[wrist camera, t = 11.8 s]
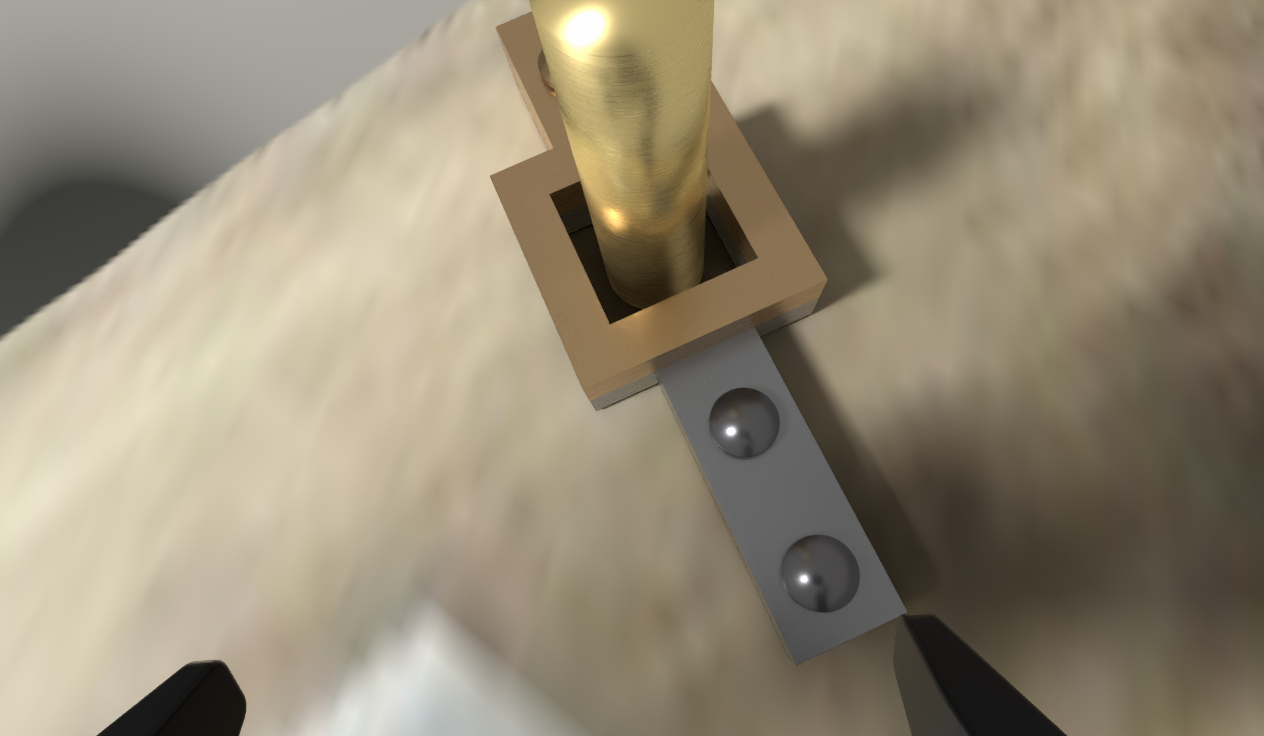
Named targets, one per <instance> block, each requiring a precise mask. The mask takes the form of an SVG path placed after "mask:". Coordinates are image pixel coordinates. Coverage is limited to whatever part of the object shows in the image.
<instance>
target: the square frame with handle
mask: <svg viewBox="0 0 1264 736" xmlns="http://www.w3.org/2000/svg"><path fill="white" fill-rule="evenodd" d="M496 30H497V33H498V35H499V38H500V41H501V44H502V46H503V49H504V52H505V55H506V57H507V60H508V63H509V66H510V68H511V71H512V74H513V77H514V79H515V82H516V84H517V86H518V88H519V91H520V93H521V95H522V97H523V99H524V101H525V103H526V105H527V107H528V110H529V112H530V114H531V116H532V118H533V120H534V122H535V124H536V126H537V128H538V131H539V133H540V135H541V137H542V139H543V141H544V143H545V145H546V147H547V149H548V151H546V152H544V153H541V154H539V155H537V156H534V157H532V158H530V159H527V160H525V161H523V162H521V163H518V164H516V165H514V166H511V167H509V168H507V169H504V170H502V171H500V172H498V173H495V174H493V175H491V176H490V178H491V180H492V182H493V185H494V187H495V189H496V192H497V194H498V196H499V198H500V201H501V203H502V205H503V208H504V210H505V212H506V214H507V217H508V219H509V221H510V224H511V226H512V228H513V230H514V233H515V235H516V237H517V240H518V242H519V244H520V246H521V249H522V251H523V253H524V256H525V258H526V260H527V262H528V265H529V267H530V269H531V272H532V274H533V276H534V278H535V281H536V283H537V285H538V288H539V290H540V292H541V294H542V297H543V299H544V301H545V304H546V306H547V308H548V310H549V313H550V315H551V317H552V320H553V322H554V324H555V327H556V329H557V331H558V333H559V336H560V338H561V340H562V343H563V345H564V347H565V349H566V352H567V354H568V356H569V359H570V361H571V363H572V365H573V368H574V370H575V372H576V375H577V377H578V379H579V381H580V384H581V386H582V388H583V390H584V392H585V394H586V395H587V397H588V398H589V400H590V402H591V403H592V405H593V407H594V408H595V410H596V411H598V410H600V409H602V408H604V407H606V406H609V405H611V404H613V403H615V402H617V401H620V400H622V399H624V398H626V397H628V396H631V395H633V394H635V393H637V392H639V391H642V390H644V389H646V388H648V387H651V386H653V385H655V384H657V383H659V385H660V387H661V389H662V392H663V394H664V396H665V398H666V400H667V402H668V404H669V406H670V408H671V410H672V413H673V415H674V417H675V419H676V421H677V423H678V425H679V427H680V429H681V432H682V434H683V436H684V438H685V440H686V442H687V444H688V446H689V448H690V450H691V453H692V455H693V457H694V459H695V461H696V463H697V465H698V467H699V469H700V471H701V474H702V476H703V478H704V480H705V482H706V484H707V486H708V488H709V490H710V493H711V495H712V497H713V499H714V501H715V503H716V505H717V507H718V509H719V511H720V514H721V516H722V518H723V520H724V522H725V524H726V526H727V528H728V530H729V533H730V535H731V537H732V539H733V541H734V543H735V545H736V547H737V549H738V551H739V554H740V556H741V558H742V560H743V562H744V564H745V566H746V568H747V570H748V573H749V575H750V577H751V579H752V581H753V583H754V585H755V587H756V589H757V591H758V594H759V596H760V598H761V600H762V602H763V604H764V606H765V608H766V610H767V613H768V615H769V617H770V619H771V621H772V623H773V625H774V627H775V629H776V631H777V634H778V636H779V638H780V640H781V642H782V644H783V646H784V648H785V650H786V652H787V655H788V657H789V659H790V660H791V661H792V662H794V663H795V664H796V665H798V664H800V663H802V662H804V661H806V660H809V659H811V658H813V657H815V656H817V655H819V654H821V653H823V652H825V651H827V650H830V649H832V648H834V647H836V646H838V645H840V644H842V643H844V642H846V641H849V640H851V639H853V638H855V637H857V636H859V635H861V634H863V633H865V632H867V631H870V630H872V629H874V628H876V627H878V626H880V625H882V624H884V623H886V622H889V621H891V620H893V619H895V618H897V617H899V616H900V615H902V614H905V613H907V610H906V608H905V606H904V604H903V603H902V601H901V599H900V597H899V595H898V593H897V591H896V590H895V588H894V586H893V584H892V582H891V580H890V578H889V577H888V575H887V573H886V571H885V569H884V567H883V565H882V563H881V562H880V560H879V558H878V556H877V554H876V552H875V550H874V549H873V547H872V545H871V543H870V541H869V539H868V537H867V536H866V534H865V532H864V530H863V528H862V526H861V524H860V522H859V521H858V519H857V517H856V515H855V513H854V511H853V509H852V508H851V506H850V504H849V502H848V500H847V498H846V496H845V495H844V493H843V491H842V489H841V487H840V485H839V483H838V481H837V480H836V478H835V476H834V474H833V472H832V470H831V468H830V467H829V465H828V463H827V461H826V459H825V457H824V455H823V454H822V452H821V450H820V448H819V446H818V444H817V442H816V440H815V439H814V437H813V435H812V433H811V431H810V429H809V427H808V426H807V424H806V422H805V420H804V418H803V416H802V414H801V413H800V411H799V409H798V407H797V405H796V403H795V401H794V399H793V398H792V396H791V394H790V392H789V390H788V388H787V386H786V385H785V383H784V381H783V379H782V377H781V375H780V373H779V372H778V370H777V368H776V366H775V364H774V362H773V360H772V358H771V357H770V355H769V353H768V351H767V349H766V347H765V345H764V344H763V342H762V340H761V338H760V337H761V336H763V335H765V334H768V333H770V332H772V331H774V330H776V329H779V328H781V327H783V326H785V325H787V324H790V323H792V322H794V321H796V320H799V319H801V318H803V317H805V316H807V315H810V314H812V312H813V310H814V308H815V306H816V303H817V301H818V299H819V297H820V295H821V293H822V291H823V288H824V286H825V284H826V282H827V280H828V279H827V277H826V275H825V274H824V272H823V270H822V269H821V267H820V265H819V264H818V262H817V260H816V258H815V257H814V255H813V253H812V252H811V250H810V248H809V247H808V245H807V243H806V241H805V240H804V238H803V236H802V235H801V233H800V231H799V229H798V228H797V226H796V224H795V223H794V221H793V219H792V218H791V216H790V214H789V212H788V211H787V209H786V207H785V206H784V204H783V202H782V201H781V199H780V197H779V195H778V194H777V192H776V190H775V189H774V187H773V185H772V183H771V182H770V180H769V178H768V177H767V175H766V173H765V172H764V170H763V168H762V166H761V165H760V163H759V161H758V160H757V158H756V156H755V155H754V153H753V151H752V149H751V148H750V146H749V144H748V143H747V141H746V139H745V137H744V136H743V134H742V132H741V131H740V129H739V127H738V126H737V124H736V122H735V120H734V119H733V117H732V115H731V114H730V112H729V110H728V109H727V107H726V105H725V103H724V102H723V100H722V98H721V97H720V95H719V93H718V92H717V90H716V88H715V86H714V85H713V83H712V81H711V93H710V119H709V145H708V170H707V196H706V213H707V215H708V216H709V218H710V220H711V222H712V224H713V226H714V228H715V229H716V231H717V233H718V235H719V237H720V239H721V240H722V242H723V244H724V246H725V248H726V250H727V251H728V253H729V255H730V257H731V259H732V261H733V262H734V264H735V266H736V268H735V269H733V270H731V271H728V272H726V273H724V274H722V275H719V276H717V277H715V278H713V279H711V280H708V281H706V282H704V283H702V284H699V285H697V286H695V287H693V288H690V289H688V290H686V291H684V292H681V293H679V294H677V295H675V296H673V297H670V298H668V299H666V300H664V301H661V302H659V303H657V304H655V305H652V306H650V307H648V308H646V309H643V310H641V311H639V312H637V313H635V314H632V315H630V316H628V317H626V318H623V319H621V320H619V321H617V322H614V323H612V324H609V321H608V319H607V317H606V315H605V313H604V311H603V309H602V306H601V304H600V302H599V300H598V298H597V296H596V293H595V291H594V289H593V287H592V285H591V283H590V281H589V278H588V276H587V274H586V272H585V270H584V268H583V266H582V263H581V261H580V259H579V257H578V255H577V253H576V250H575V248H574V246H573V244H572V242H571V240H570V238H569V235H568V234H570V233H572V232H574V231H576V230H579V229H581V228H583V227H585V226H588V225H590V224H592V219H591V216H590V212H589V209H588V205H587V202H586V198H585V195H584V191H583V188H582V184H581V181H580V177H579V174H578V170H577V167H576V163H575V160H574V156H573V153H572V149H571V146H570V142H569V139H568V135H567V132H566V128H565V125H564V121H563V118H562V114H561V111H560V107H559V104H558V100H557V97H556V93H555V90H554V86H553V83H552V79H551V76H550V72H549V69H548V65H547V62H546V58H545V55H544V51H543V48H542V44H541V41H540V37H539V34H538V30H537V27H536V23H535V20H534V16H533V13H532V12H530V13H527V14H525V15H523V16H520V17H518V18H516V19H513V20H511V21H508V22H506V23H504V24H501V25H499V26H497V27H496Z"/></svg>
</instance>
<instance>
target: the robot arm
mask: <svg viewBox="0 0 1264 736" xmlns="http://www.w3.org/2000/svg"><path fill="white" fill-rule="evenodd" d="M893 660H894V669H895V674H896V678H897V682H898V686H899V689H900V693H901V697H902V700H903V704H904V708H905V711H906V715H907V719H908V722H909V726H910V730H911V733H912V736H1067V735H1066V734H1065V733H1064V732H1063V731H1061V730H1060V729H1059V728H1058V727H1057V726H1056V725H1055V724H1054V723H1053V722H1052V721H1051V720H1049V719H1048V718H1047V717H1046V716H1045V715H1044V714H1043V713H1042V712H1041V711H1040V710H1039V709H1037V708H1036V707H1035V706H1034V705H1033V704H1032V703H1031V702H1030V701H1029V700H1028V699H1027V698H1025V697H1024V696H1023V695H1022V694H1021V693H1020V692H1019V691H1018V690H1017V689H1016V688H1015V687H1014V686H1012V685H1011V684H1010V683H1009V682H1008V681H1007V680H1006V679H1005V678H1004V677H1003V676H1002V675H1000V674H999V673H998V672H997V671H996V670H995V669H994V668H993V667H992V666H991V665H990V664H988V663H987V662H986V661H985V660H984V659H983V658H982V657H981V656H980V655H979V654H978V653H977V652H975V651H974V650H973V649H972V648H971V647H970V646H969V645H968V644H967V643H966V642H965V641H963V640H962V639H961V638H960V637H959V636H958V635H957V634H956V633H955V632H954V631H953V630H951V629H950V628H949V627H948V626H947V625H946V624H945V623H944V622H943V621H942V620H941V619H939V618H938V617H937V616H936V615H934V614H932V613H929V612H922V613H907V614H902V615H900V616H899V618H898V621H897V628H896V637H895V647H894V657H893ZM245 714H246V699H245V696H244V694H243V692H242V690H241V689H240V687H239V685H238V684H237V682H236V680H235V678H234V677H233V675H232V673H231V671H230V670H229V668H228V666H227V665H226V664H225V663H224V662H222V661H221V660H206V661H195V662H191V663H188V664H186V665H185V666H183V667H182V668H181V669H179V670H178V671H177V672H176V673H174V674H173V675H172V676H171V677H169V678H168V679H167V680H166V681H164V682H163V683H162V684H161V685H159V686H158V687H157V688H156V689H154V690H153V691H152V692H151V693H149V694H148V695H147V696H146V697H144V698H143V699H142V700H141V701H139V702H138V703H137V704H136V705H134V706H133V707H132V708H131V709H129V710H128V711H127V712H126V713H124V714H123V715H122V716H120V717H119V718H118V719H117V720H115V721H114V722H113V723H112V724H110V725H109V726H108V727H107V728H105V729H104V730H103V731H102V732H100V733H99V734H98V735H97V736H239V734H240V731H241V728H242V725H243V722H244V719H245Z"/></svg>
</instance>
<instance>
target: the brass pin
mask: <svg viewBox="0 0 1264 736" xmlns="http://www.w3.org/2000/svg"><path fill="white" fill-rule="evenodd" d="M529 2H530V6H531V9H532V13H533V16H534V20H535V23H536V27H537V30H538V34H539V37H540V41H541V44H542V48H543V51H544V55H545V58H546V62H547V65H548V69H549V72H550V76H551V79H552V83H553V86H554V90H555V93H556V97H557V100H558V104H559V107H560V111H561V114H562V118H563V121H564V125H565V128H566V132H567V135H568V139H569V142H570V146H571V149H572V153H573V156H574V160H575V163H576V167H577V170H578V174H579V177H580V181H581V184H582V188H583V191H584V195H585V198H586V202H587V205H588V209H589V212H590V216H591V219H592V223H593V226H594V230H595V233H596V237H597V240H598V244H599V247H600V251H601V254H602V258H603V261H604V265H605V268H606V272H607V275H608V279H609V282H610V284H611V286H612V288H613V290H614V291H615V292H616V294H617V295H618V296H619V297H620V298H621V299H622V300H624V301H625V302H626V303H628V304H630V305H632V306H634V307H636V308H640V309H646V308H648V307H650V306H652V305H655V304H657V303H659V302H661V301H664V300H666V299H668V298H670V297H673V296H675V295H677V294H679V293H681V292H684V291H686V290H688V289H690V288H693V287H695V286H697V285H699V283H700V281H701V278H702V275H703V269H704V247H705V221H706V196H707V170H708V145H709V119H710V93H711V68H712V42H713V17H714V0H529Z"/></svg>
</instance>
